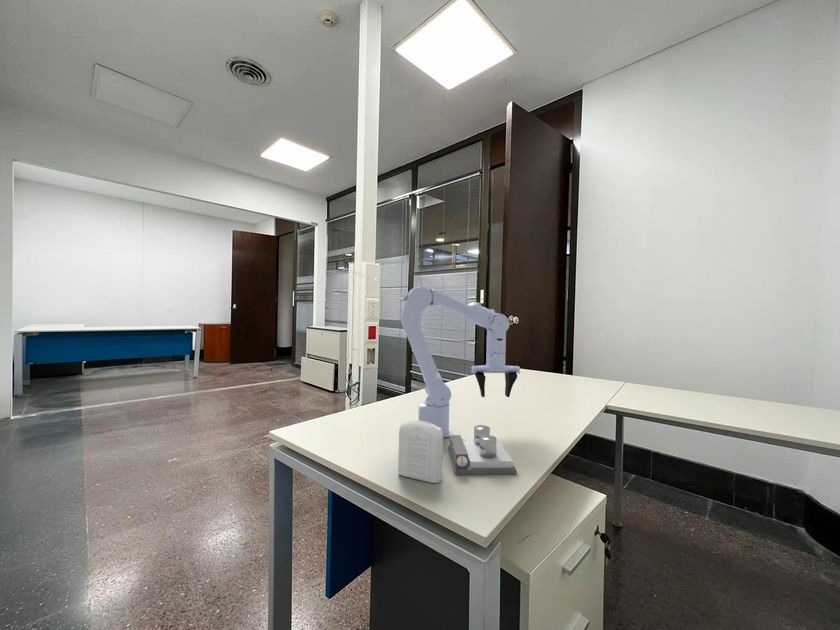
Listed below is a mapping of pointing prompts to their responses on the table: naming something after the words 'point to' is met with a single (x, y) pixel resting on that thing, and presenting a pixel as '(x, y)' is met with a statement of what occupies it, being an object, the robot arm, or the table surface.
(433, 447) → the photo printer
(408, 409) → the table surface
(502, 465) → the scale
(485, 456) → the spacer
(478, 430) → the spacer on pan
